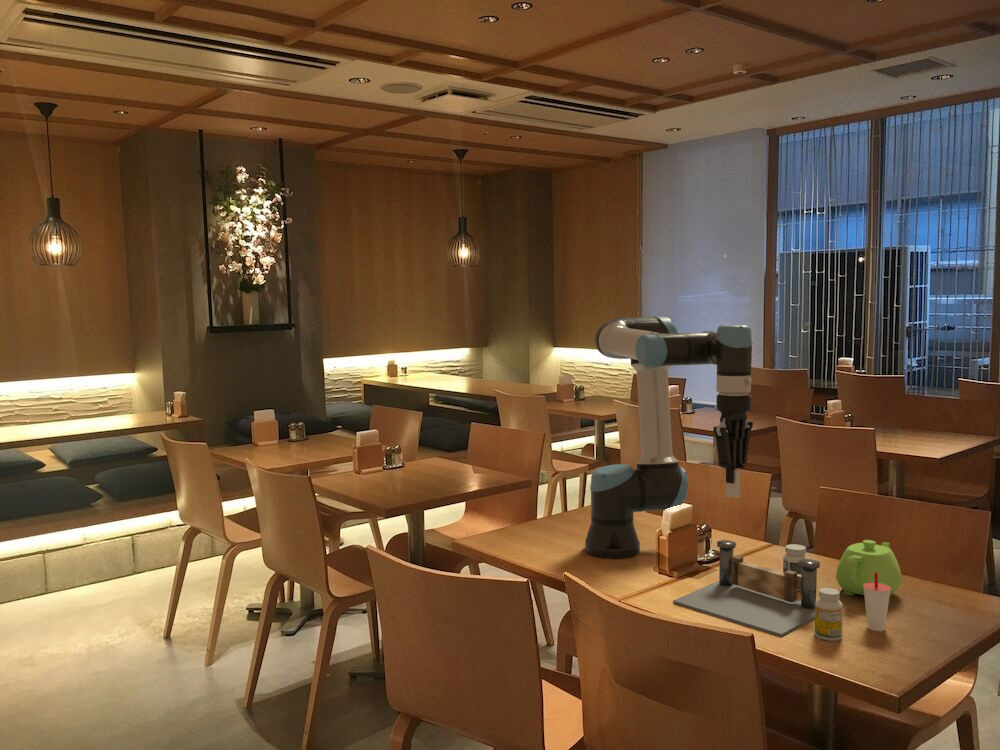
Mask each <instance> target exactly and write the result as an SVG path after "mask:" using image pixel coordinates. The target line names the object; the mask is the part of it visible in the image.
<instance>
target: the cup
mask: <svg viewBox="0 0 1000 750" xmlns="http://www.w3.org/2000/svg"><path fill="white" fill-rule="evenodd" d="M863 586H864V595H863V596H864V606H865V618H866V628H867V629H869V630H871V631H875V632H884V631H885V630H886V624H887V619H888V610H889V604H890V603H889V602H890V597H891V596H890V590H891V587H890V586H888V585H885V584H881V583H878V573H875V583H865V584H863Z"/></svg>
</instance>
